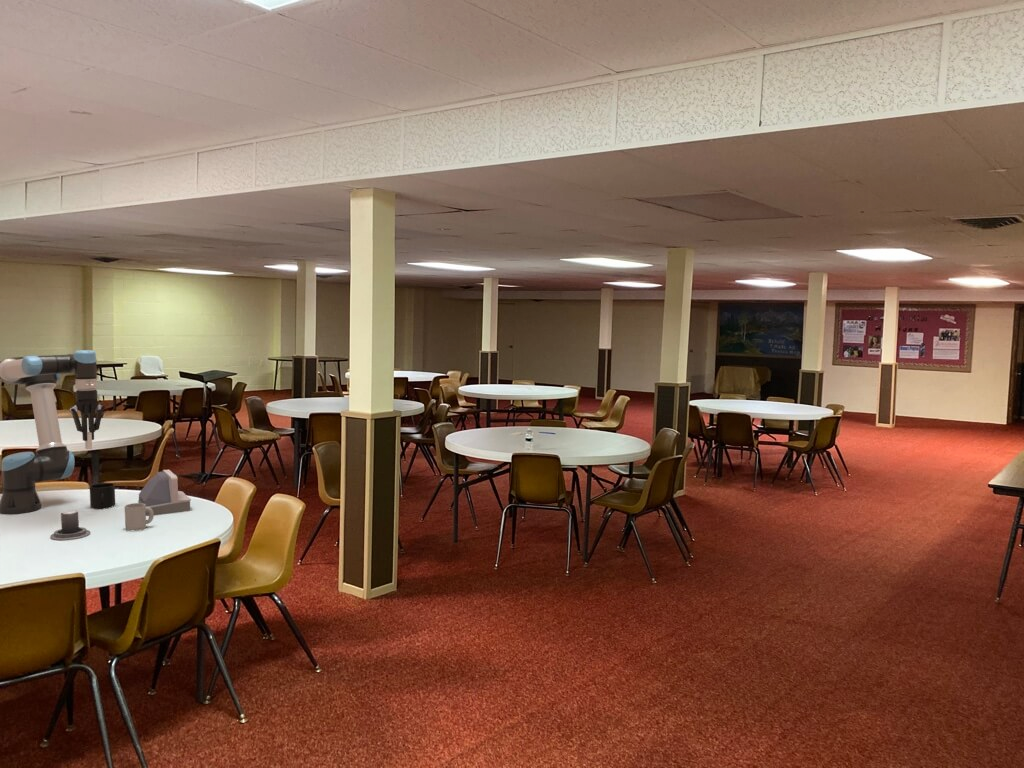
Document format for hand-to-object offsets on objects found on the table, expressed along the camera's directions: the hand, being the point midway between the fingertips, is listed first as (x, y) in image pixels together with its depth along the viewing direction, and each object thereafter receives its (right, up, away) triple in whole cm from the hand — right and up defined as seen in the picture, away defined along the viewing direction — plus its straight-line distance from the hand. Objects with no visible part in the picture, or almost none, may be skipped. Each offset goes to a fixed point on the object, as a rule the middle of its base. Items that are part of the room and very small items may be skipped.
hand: (88, 448), depth 319 cm
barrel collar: (+4, -31, -21) cm, 37 cm away
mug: (-5, -27, +21) cm, 35 cm away
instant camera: (+21, -27, +20) cm, 40 cm away
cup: (+25, -30, -10) cm, 40 cm away
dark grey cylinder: (+4, -30, -21) cm, 37 cm away
